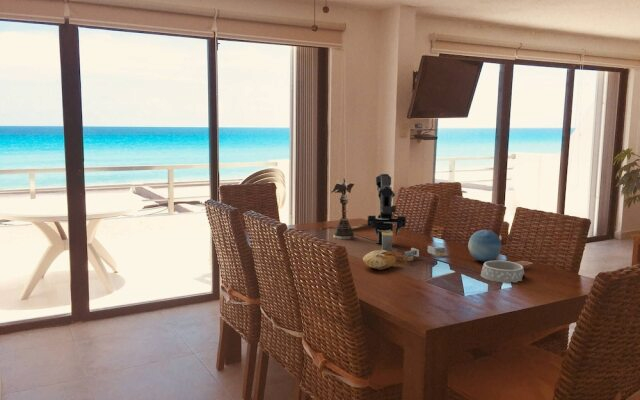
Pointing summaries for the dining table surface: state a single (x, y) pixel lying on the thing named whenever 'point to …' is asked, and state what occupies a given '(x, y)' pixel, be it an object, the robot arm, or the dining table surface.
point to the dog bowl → (502, 271)
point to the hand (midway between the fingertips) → (386, 235)
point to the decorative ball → (484, 245)
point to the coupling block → (387, 240)
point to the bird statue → (343, 211)
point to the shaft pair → (432, 250)
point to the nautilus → (381, 259)
